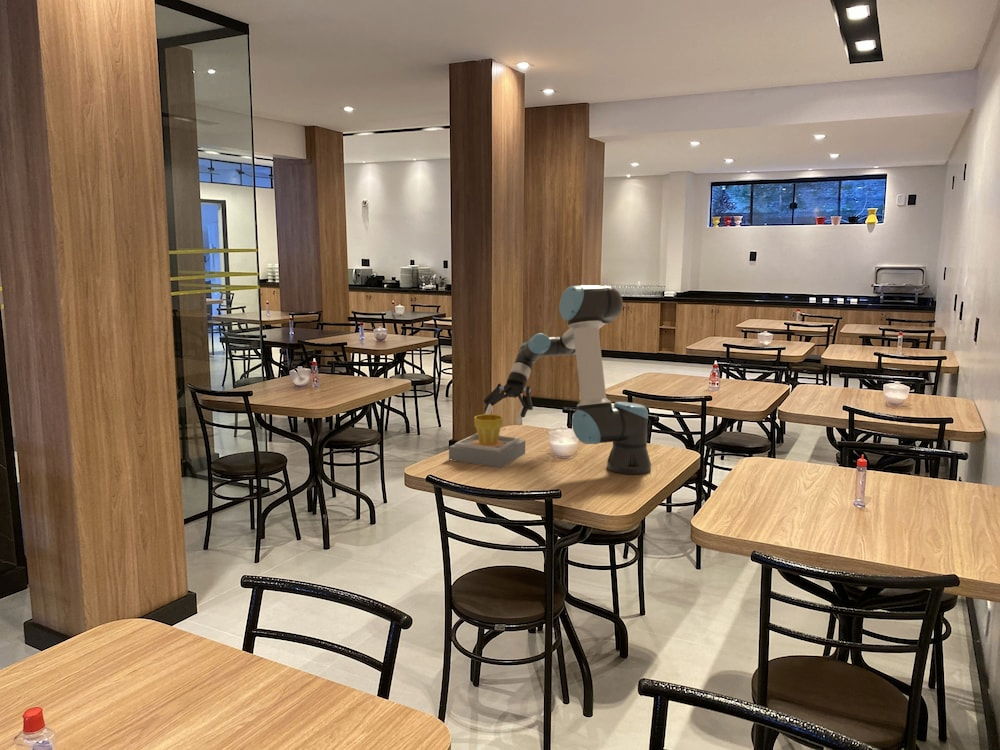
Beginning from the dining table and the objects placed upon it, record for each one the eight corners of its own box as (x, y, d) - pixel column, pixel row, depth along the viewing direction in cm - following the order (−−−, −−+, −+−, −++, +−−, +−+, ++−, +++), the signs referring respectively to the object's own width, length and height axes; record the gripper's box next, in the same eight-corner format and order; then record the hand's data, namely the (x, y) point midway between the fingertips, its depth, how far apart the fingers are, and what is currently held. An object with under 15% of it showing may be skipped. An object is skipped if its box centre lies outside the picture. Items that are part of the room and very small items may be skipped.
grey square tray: (525, 453, 273) (525, 437, 272) (501, 467, 254) (501, 450, 253) (475, 447, 282) (475, 431, 281) (449, 460, 263) (448, 443, 262)
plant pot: (470, 445, 264) (470, 418, 263) (479, 438, 274) (479, 413, 272) (497, 447, 261) (497, 420, 260) (505, 440, 271) (505, 415, 269)
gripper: (550, 385, 284) (534, 430, 273) (493, 380, 295) (475, 423, 284) (545, 373, 279) (528, 419, 268) (487, 368, 290) (469, 412, 279)
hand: (501, 421), depth 276 cm, fingers open, 13 cm apart
